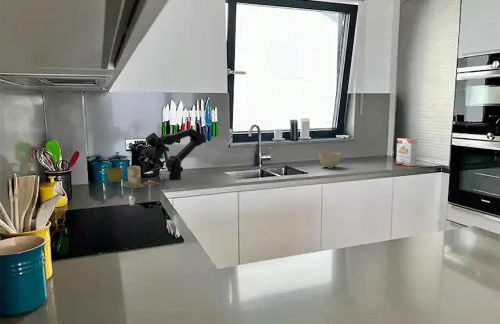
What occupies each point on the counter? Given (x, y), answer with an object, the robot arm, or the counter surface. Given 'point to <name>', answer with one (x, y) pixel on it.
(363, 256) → the counter surface
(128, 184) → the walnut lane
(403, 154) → the cracker box
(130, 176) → the beech block
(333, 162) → the planter bowl
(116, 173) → the flower pot
